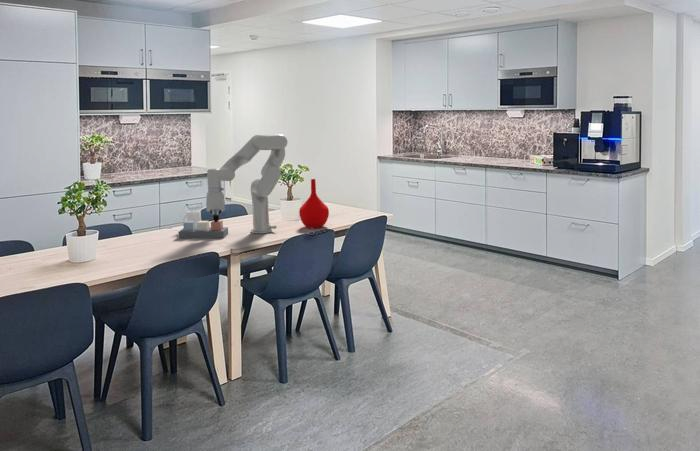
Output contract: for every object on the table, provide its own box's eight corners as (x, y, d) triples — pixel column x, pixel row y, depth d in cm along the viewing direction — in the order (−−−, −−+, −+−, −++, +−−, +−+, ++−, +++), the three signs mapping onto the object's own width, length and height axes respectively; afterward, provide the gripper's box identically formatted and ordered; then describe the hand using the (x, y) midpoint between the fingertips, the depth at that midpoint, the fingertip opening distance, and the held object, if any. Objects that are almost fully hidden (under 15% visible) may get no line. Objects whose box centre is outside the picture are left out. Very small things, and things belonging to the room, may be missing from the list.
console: (228, 233, 361) (227, 227, 361) (223, 238, 350) (223, 231, 349) (184, 234, 362) (184, 227, 361) (178, 238, 350) (178, 231, 349)
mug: (187, 233, 365) (185, 213, 362) (180, 231, 371) (179, 212, 369) (204, 230, 372) (203, 211, 370) (197, 228, 379) (196, 209, 376)
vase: (328, 229, 369) (327, 180, 364) (298, 229, 370) (296, 181, 364) (329, 224, 387) (328, 177, 382) (301, 224, 388) (299, 177, 382)
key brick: (223, 231, 358) (222, 220, 357) (221, 233, 352) (220, 222, 351) (213, 231, 358) (213, 220, 357) (211, 233, 352) (210, 222, 351)
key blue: (196, 231, 358) (195, 220, 357) (193, 233, 353) (192, 222, 351) (186, 231, 358) (185, 220, 357) (183, 233, 353) (183, 222, 351)
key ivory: (209, 231, 358) (209, 220, 357) (207, 233, 352) (206, 222, 351) (200, 231, 358) (199, 220, 357) (197, 233, 353) (197, 222, 351)
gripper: (229, 189, 354) (230, 220, 357) (203, 189, 354) (205, 220, 358) (226, 190, 347) (227, 222, 350) (200, 191, 347) (201, 222, 350)
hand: (216, 221), depth 354 cm, fingers closed
